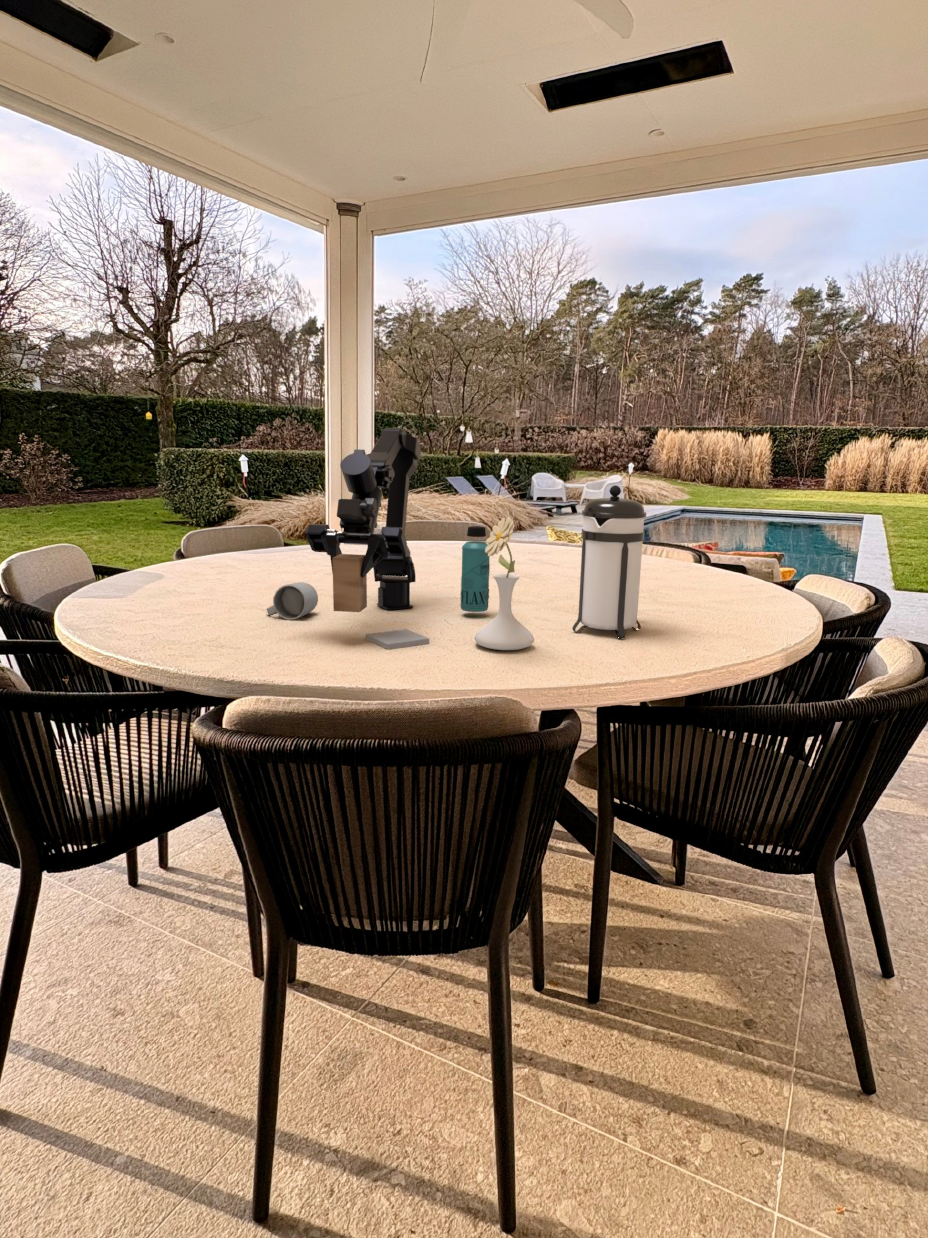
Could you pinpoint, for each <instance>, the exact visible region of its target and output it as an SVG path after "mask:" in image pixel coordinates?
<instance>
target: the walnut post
mask: <svg viewBox="0 0 928 1238" xmlns="http://www.w3.org/2000/svg"><path fill="white" fill-rule="evenodd" d="M365 555H366V554H350V553H349V554H348V553H342V554H340V555H337V556H335V557H333V558H332V559H333V573H332V593H333V594H332V596H333V597H332V598H333V599H332V600H333V603H332V605H333V612H347V613H361V612H362V611H363V610H365V609H366V608H367V607H368V598H367V597H368V591H367V590H368V589H367V588H368V587H367V586H368V584H367V583H368V582H367V580H368V579H367V578H368V577H367V574H368V573H367V574H366V575H365V577H361V568H362V564H363V561H364V558H365Z"/></svg>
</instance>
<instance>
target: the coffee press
mask: <svg viewBox="0 0 928 1238" xmlns="http://www.w3.org/2000/svg"><path fill="white" fill-rule="evenodd" d="M621 492H622V489H621V487H620V486H618V485H613V486H611V487H610V489H609V494H610V495H611V496H610V497H599V498H594V499H592V500H590V501H588V502H587V503H586V504H585V506H584V509H583V510H581V515H582V519H583V521H582V528H581V539H582V541H581V544H582V545H581V557H580V558H581V562H580V577H579V578H580V580H579V598H578V599H579V600H578V615H577V620H576V622H575V623H574V624H573V626H572V631H573V632H574V633H576V634H580V633H581V632H582V631H583V630H584V629H587V628H591V629H596V630H602V631H603V630H604V631H605V630H606V631H612V632H614V635H615V637H617V638H618V637H619V639H618V640H622V639H621V638H625V639H626V631H625V630H628V629H630V628H631V629H632V628H633V629H632V630H634V629H635V627H634V626H635V625H636V624H637V627H636V628H638V629H640V630H641V628H642V624H641V623H640V622H639V620H638V611H639V610H638V609H639V597H640V583H641V581H640V580H641V569H642V568H641V567H642V553H643V542H644V540H645V531H644V528H645V527H644V524H645V523H644V522H645V519H646V517H647V512H646V511H645V508H644V505H643V504H642V503H641V502H639V501H637V500H635V499H630V498H620V494H621ZM580 623H581V624H582V626H580V627H579V628H578V629H576V628H577V627H578V626H579V624H580ZM617 638H616V639H617Z"/></svg>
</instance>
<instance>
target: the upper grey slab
mask: <svg viewBox="0 0 928 1238" xmlns="http://www.w3.org/2000/svg"><path fill="white" fill-rule="evenodd" d="M365 640H367V641H368V642H371V643H374V644H375V645H377V646H379V647H380V646H381V647H380V648H382V647H383V649H384V648H385V649H384V650H386V649H387V650H393V649H394V648H395V649H401V647H402V648H409V646H410V647H417V646H416V645H418V646H424V645H423V644H426V645H429V644H430V638H429V637H427V636H425V635H422V634H421V633H420V634H419V633H418V632H415V631H412V630H410V629H408V628H405V629H397V630H395V629H394V630H388V631H381V632H380V631H379V632H372V633H366V634H365Z"/></svg>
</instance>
